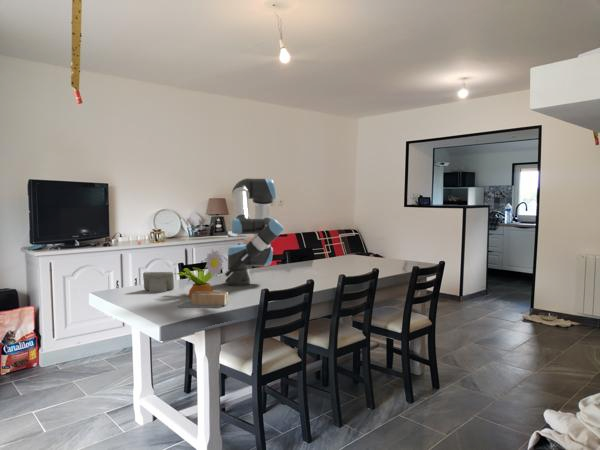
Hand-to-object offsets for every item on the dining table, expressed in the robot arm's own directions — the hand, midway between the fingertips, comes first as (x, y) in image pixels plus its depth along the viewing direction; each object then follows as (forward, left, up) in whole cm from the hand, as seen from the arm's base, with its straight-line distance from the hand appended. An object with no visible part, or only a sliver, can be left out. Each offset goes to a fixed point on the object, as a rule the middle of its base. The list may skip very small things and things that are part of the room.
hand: (221, 279), depth 207 cm
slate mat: (0, -9, -12) cm, 15 cm away
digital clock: (-28, -41, -12) cm, 51 cm away
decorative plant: (-20, -15, -12) cm, 28 cm away
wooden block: (0, +2, -9) cm, 9 cm away
